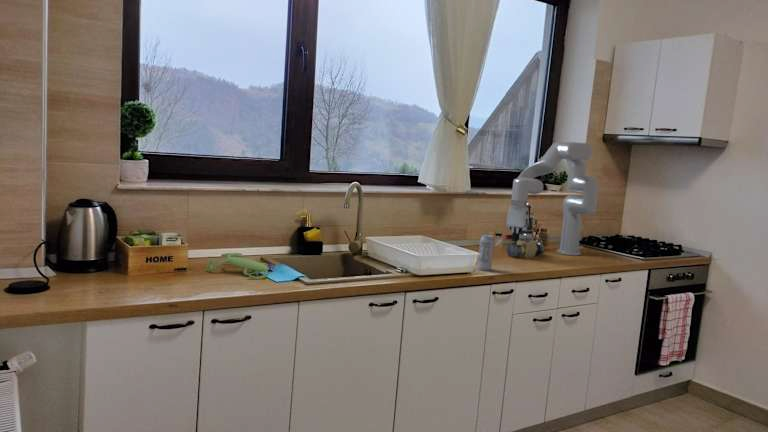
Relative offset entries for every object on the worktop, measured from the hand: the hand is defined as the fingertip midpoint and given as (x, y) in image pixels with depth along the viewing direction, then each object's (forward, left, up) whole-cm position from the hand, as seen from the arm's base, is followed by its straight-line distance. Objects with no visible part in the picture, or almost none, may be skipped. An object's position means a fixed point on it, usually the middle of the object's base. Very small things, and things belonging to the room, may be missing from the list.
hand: (515, 240), depth 293 cm
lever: (-5, -3, 0) cm, 5 cm away
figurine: (+136, -13, -10) cm, 137 cm away
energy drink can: (+34, +15, -9) cm, 38 cm away
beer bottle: (-26, -17, -9) cm, 33 cm away
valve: (-11, -2, -9) cm, 14 cm away
